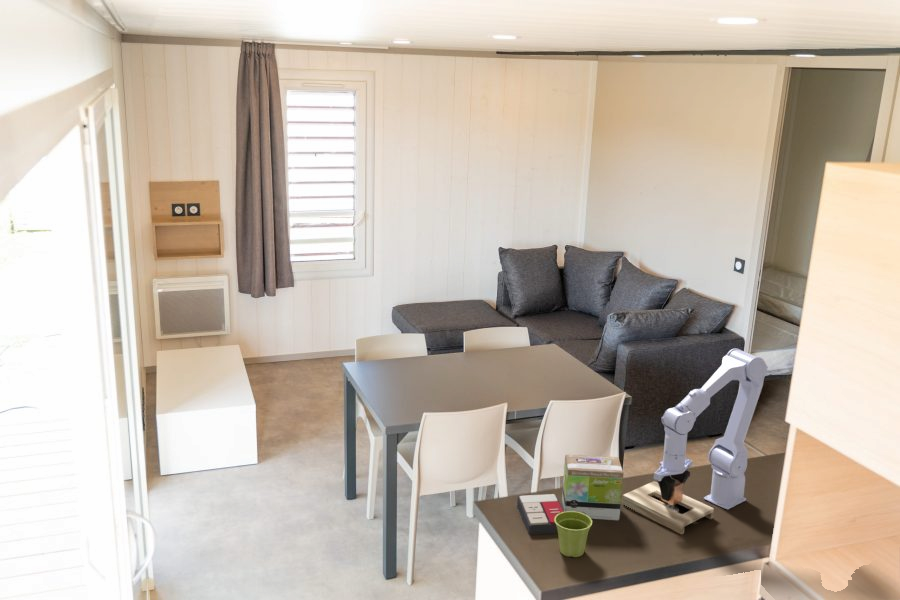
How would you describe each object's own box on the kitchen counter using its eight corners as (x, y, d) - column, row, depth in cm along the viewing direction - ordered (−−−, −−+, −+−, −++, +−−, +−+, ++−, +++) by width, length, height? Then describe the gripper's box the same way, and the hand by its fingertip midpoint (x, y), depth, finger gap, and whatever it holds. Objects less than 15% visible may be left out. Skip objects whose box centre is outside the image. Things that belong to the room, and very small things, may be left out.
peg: (668, 507, 223) (671, 476, 221) (682, 513, 219) (684, 482, 217) (659, 511, 220) (661, 481, 218) (672, 518, 217) (674, 487, 215)
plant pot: (545, 549, 201) (546, 518, 199) (571, 537, 207) (572, 507, 205) (572, 566, 194) (573, 534, 192) (598, 553, 200) (600, 522, 198)
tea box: (564, 519, 216) (567, 469, 212) (561, 501, 226) (564, 453, 222) (620, 521, 215) (623, 471, 212) (615, 503, 225) (618, 455, 221)
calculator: (529, 523, 207) (517, 493, 221) (528, 538, 208) (516, 507, 223) (570, 521, 209) (555, 491, 223) (569, 535, 210) (554, 505, 224)
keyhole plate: (653, 490, 233) (654, 481, 232) (712, 518, 217) (713, 508, 217) (622, 504, 224) (622, 494, 224) (681, 534, 209) (682, 524, 208)
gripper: (678, 440, 223) (674, 484, 226) (645, 453, 214) (642, 499, 218) (700, 448, 218) (695, 493, 221) (667, 462, 209) (663, 509, 212)
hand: (670, 497), depth 219 cm, fingers closed on peg, 4 cm apart
